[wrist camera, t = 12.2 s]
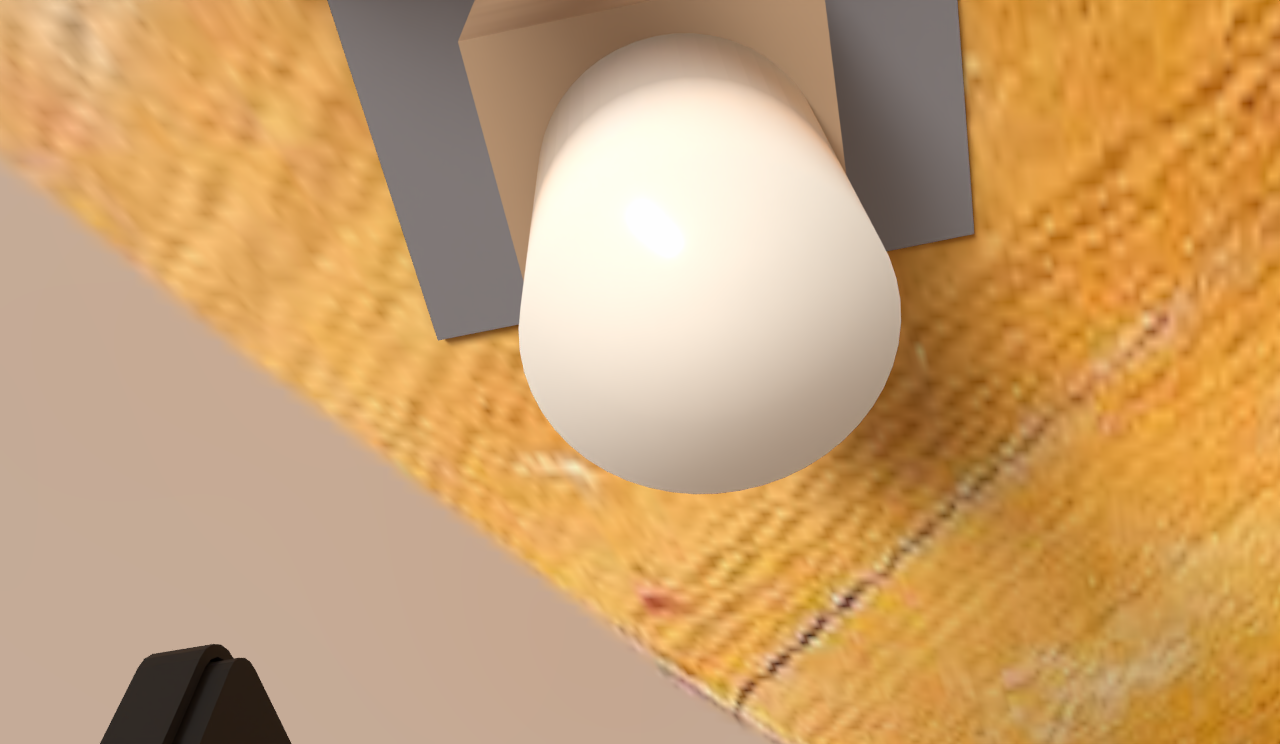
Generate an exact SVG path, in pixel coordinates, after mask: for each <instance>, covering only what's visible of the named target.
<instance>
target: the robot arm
mask: <svg viewBox="0 0 1280 744" xmlns="http://www.w3.org/2000/svg"><path fill="white" fill-rule="evenodd" d="M100 744H291V742H290V740H289V738H288V736H287V734H286V732H285V730H284V728H283V726H282V724H281V721H280V719H279V717H278V715H277V714H276V711H275V709H274V707H273V705H272V703H271V701H270V699H269V697H268V695H267V693H266V691H265V689H264V687H263V685H262V683H261V681H260V679H259V677H258V674H257V672H256V670H255V669H254V667H253V666H252V664H251V662H250V661H248V660H247V659H245V658H235V659H234V658H233V657H232V655H231V654H230V652H229V651H228V650H227V649H226V648H224V647H223V646H222V645H218V644H212V645H205V646H199V647H193V648H187V649H181V650H175V651H169V652H163V653H156V654H152V655H150V656H149V657H147V658H145V659H144V661H143V662H142V663H141V664H140V666H139V667H138V669H137V671H136V673H135V675H134V677H133V679H132V681H131V683H130V685H129V687H128V689H127V691H126V693H125V695H124V697H123V699H122V701H121V703H120V705H119V707H118V709H117V711H116V713H115V715H114V717H113V719H112V721H111V723H110V725H109V727H108V729H107V731H106V733H105V735H104V737H103V739H102V741H101V743H100Z"/></svg>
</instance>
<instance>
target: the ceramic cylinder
mask: <svg viewBox="0 0 1280 744" xmlns="http://www.w3.org/2000/svg"><path fill="white" fill-rule="evenodd" d="M900 327H901V304H900V295H899V290H898V284H897V279H896V276H895V273H894V270H893V267H892V264H891V261H890V258H889V256H888V254H887V252H886V250H885V248H884V246H883V244H882V242H881V240H880V238H879V236H878V234H877V233H876V231H875V229H874V227H873V225H872V223H871V221H870V219H869V217H868V216H867V214H866V212H865V210H864V208H863V206H862V204H861V202H860V200H859V198H858V197H857V195H856V193H855V191H854V189H853V187H852V185H851V183H850V181H849V179H848V178H847V176H846V174H845V172H844V170H843V168H842V166H841V164H840V162H839V160H838V159H837V157H836V155H835V153H834V151H833V149H832V147H831V145H830V143H829V142H828V140H827V138H826V136H825V134H824V132H823V130H822V128H821V126H820V124H819V123H818V121H817V119H816V117H815V115H814V113H813V111H812V109H811V107H810V105H809V104H808V102H807V100H806V98H805V97H804V95H803V94H802V92H801V91H800V90H799V88H798V87H797V85H796V84H795V83H794V82H793V81H792V80H791V79H790V78H789V77H788V75H787V74H786V73H785V72H784V71H783V70H782V69H780V68H779V67H778V66H777V65H775V64H774V63H773V62H772V61H770V60H769V59H768V58H766V57H765V56H763V55H761V54H760V53H758V52H756V51H754V50H753V49H751V48H749V47H746V46H744V45H741V44H739V43H737V42H734V41H731V40H728V39H724V38H720V37H716V36H711V35H703V34H695V33H684V34H668V35H661V36H654V37H651V38H647V39H643V40H640V41H636V42H634V43H631V44H629V45H627V46H624V47H622V48H620V49H617V50H615V51H614V52H612V53H610V54H609V55H607V56H605V57H604V58H602V59H600V60H599V61H598V62H596V63H595V64H594V65H593V66H591V67H590V68H589V69H588V70H586V71H585V72H584V73H583V74H582V75H581V76H580V77H579V78H578V79H577V80H576V81H575V82H574V83H573V84H572V85H571V87H570V88H569V89H568V91H567V92H566V93H565V95H564V96H563V97H562V99H561V100H560V101H559V103H558V105H557V107H556V109H555V111H554V112H553V114H552V116H551V118H550V121H549V123H548V126H547V128H546V131H545V134H544V137H543V141H542V146H541V150H540V155H539V163H538V171H537V179H536V187H535V195H534V203H533V211H532V219H531V227H530V235H529V243H528V251H527V259H526V267H525V276H524V284H523V292H522V300H521V308H520V319H519V344H520V354H521V359H522V363H523V368H524V373H525V376H526V378H527V381H528V384H529V387H530V389H531V392H532V394H533V396H534V398H535V400H536V402H537V404H538V405H539V407H540V409H541V411H542V413H543V414H544V415H545V417H546V418H547V420H548V421H549V422H550V424H551V425H552V426H553V428H554V429H555V430H556V431H557V432H558V433H559V434H560V435H561V437H562V438H563V439H564V440H565V441H566V442H567V443H568V444H569V445H570V446H571V447H573V448H574V449H575V450H576V451H578V452H579V453H580V454H581V455H583V456H584V457H585V458H586V459H588V460H589V461H591V462H592V463H594V464H596V465H597V466H599V467H601V468H602V469H604V470H606V471H607V472H610V473H612V474H614V475H616V476H618V477H621V478H623V479H625V480H627V481H630V482H633V483H636V484H639V485H643V486H646V487H649V488H654V489H659V490H664V491H669V492H677V493H688V494H718V493H726V492H733V491H741V490H745V489H749V488H753V487H758V486H762V485H765V484H768V483H770V482H773V481H776V480H779V479H782V478H785V477H787V476H789V475H791V474H793V473H795V472H797V471H799V470H801V469H803V468H805V467H807V466H808V465H810V464H812V463H813V462H815V461H816V460H818V459H820V458H821V457H823V456H824V455H826V454H827V453H828V452H830V451H831V450H832V449H833V448H834V447H836V446H837V445H838V444H839V443H841V442H842V441H843V440H844V439H845V438H846V437H847V436H848V435H849V434H850V433H851V432H852V431H853V430H854V429H855V428H856V427H857V426H858V425H859V424H860V422H861V421H862V420H863V419H864V417H865V416H866V415H867V413H868V412H869V411H870V409H871V408H872V407H873V405H874V404H875V402H876V400H877V398H878V397H879V395H880V393H881V391H882V390H883V388H884V386H885V384H886V381H887V379H888V377H889V374H890V372H891V369H892V367H893V364H894V360H895V356H896V352H897V348H898V345H899V336H900Z"/></svg>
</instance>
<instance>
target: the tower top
mask: <svg viewBox="0 0 1280 744" xmlns="http://www.w3.org/2000/svg"><path fill="white" fill-rule="evenodd" d="M684 33H695V34H703V35H711V36H716V37H720V38H724V39H728V40H731V41H734V42H737V43H739V44H741V45H744V46H746V47H749V48H751V49H753V50H754V51H756V52H758V53H760V54H761V55H763V56H765V57H766V58H768V59H769V60H770V61H772V62H773V63H774V64H775V65H777V66H778V67H779V68H780V69H782V70H783V71H784V72H785V73H786V74H787V75H788V77H789V78H790V79H791V80H792V81H793V82H794V83H795V84H796V85H797V87H798V88H799V90H800V91H801V92H802V94H803V95H804V97H805V98H806V100H807V102H808V104H809V105H810V107H811V109H812V111H813V113H814V115H815V117H816V119H817V121H818V123H819V124H820V126H821V128H822V130H823V132H824V134H825V136H826V138H827V140H828V142H829V143H830V145H831V147H832V149H833V151H834V153H835V155H836V157H837V159H838V160H839V162H840V164H841V166H842V168H843V170H844V172H845V174H846V168H845V160H844V152H843V144H842V136H841V127H840V119H839V111H838V103H837V95H836V86H835V78H834V70H833V62H832V54H831V45H830V37H829V29H828V21H827V13H826V4H825V0H475V1H474V3H473V6H472V8H471V10H470V13H469V15H468V18H467V20H466V23H465V25H464V28H463V30H462V33H461V35H460V38H459V40H458V44H459V47H460V51H461V55H462V58H463V62H464V66H465V69H466V73H467V77H468V80H469V84H470V88H471V91H472V95H473V98H474V102H475V106H476V109H477V113H478V117H479V120H480V124H481V128H482V131H483V135H484V139H485V142H486V146H487V150H488V153H489V157H490V161H491V164H492V168H493V172H494V175H495V179H496V183H497V186H498V190H499V193H500V197H501V201H502V204H503V208H504V212H505V215H506V219H507V223H508V226H509V230H510V234H511V237H512V241H513V245H514V248H515V252H516V256H517V259H518V263H519V267H520V270H521V274H522V278H523V281H524V276H525V267H526V259H527V251H528V243H529V235H530V227H531V219H532V211H533V203H534V195H535V187H536V179H537V171H538V163H539V155H540V150H541V146H542V141H543V137H544V134H545V131H546V128H547V126H548V123H549V121H550V118H551V116H552V114H553V112H554V111H555V109H556V107H557V105H558V103H559V101H560V100H561V99H562V97H563V96H564V95H565V93H566V92H567V91H568V89H569V88H570V87H571V85H572V84H573V83H574V82H575V81H576V80H577V79H578V78H579V77H580V76H581V75H582V74H583V73H584V72H585V71H586V70H588V69H589V68H590V67H591V66H593V65H594V64H595V63H596V62H598V61H599V60H600V59H602V58H604V57H605V56H607V55H609V54H610V53H612V52H614V51H615V50H617V49H620V48H622V47H624V46H627V45H629V44H631V43H634V42H636V41H640V40H643V39H647V38H651V37H654V36H661V35H668V34H684Z"/></svg>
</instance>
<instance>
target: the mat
mask: <svg viewBox="0 0 1280 744" xmlns="http://www.w3.org/2000/svg"><path fill="white" fill-rule="evenodd" d="M327 1H328V4H329V7H330V10H331V13H332V16H333V19H334V22H335V25H336V28H337V31H338V34H339V37H340V40H341V44H342V47H343V50H344V53H345V56H346V59H347V62H348V65H349V68H350V71H351V74H352V77H353V80H354V84H355V87H356V90H357V93H358V96H359V99H360V102H361V105H362V108H363V111H364V114H365V117H366V120H367V123H368V127H369V130H370V133H371V136H372V139H373V142H374V145H375V148H376V151H377V154H378V157H379V160H380V163H381V167H382V170H383V173H384V176H385V179H386V182H387V185H388V188H389V191H390V194H391V197H392V200H393V203H394V206H395V210H396V213H397V216H398V219H399V222H400V225H401V228H402V231H403V234H404V237H405V240H406V243H407V246H408V250H409V253H410V256H411V259H412V262H413V265H414V268H415V271H416V274H417V277H418V280H419V283H420V286H421V289H422V293H423V296H424V299H425V302H426V305H427V308H428V311H429V314H430V317H431V320H432V323H433V326H434V329H435V333H436V336H437V339H438V340H443V339H448V338H453V337H458V336H463V335H468V334H473V333H478V332H483V331H488V330H493V329H498V328H503V327H508V326H513V325H518V324H519V319H520V308H521V300H522V292H523V284H524V281H523V278H522V274H521V270H520V267H519V263H518V259H517V256H516V252H515V248H514V245H513V241H512V237H511V234H510V230H509V226H508V223H507V219H506V215H505V212H504V208H503V204H502V201H501V197H500V193H499V190H498V186H497V183H496V179H495V175H494V172H493V168H492V164H491V161H490V157H489V153H488V150H487V146H486V142H485V139H484V135H483V131H482V128H481V124H480V120H479V117H478V113H477V109H476V106H475V102H474V98H473V95H472V91H471V88H470V84H469V80H468V77H467V73H466V69H465V66H464V62H463V58H462V55H461V51H460V47H459V44H458V40H459V38H460V35H461V33H462V30H463V28H464V25H465V23H466V20H467V18H468V15H469V13H470V10H471V8H472V6H473V3H474V1H475V0H327ZM825 4H826V13H827V21H828V29H829V37H830V45H831V54H832V62H833V70H834V78H835V86H836V95H837V103H838V111H839V119H840V127H841V136H842V144H843V152H844V160H845V168H846V176H847V178H848V179H849V181H850V183H851V185H852V187H853V189H854V191H855V193H856V195H857V197H858V198H859V200H860V202H861V204H862V206H863V208H864V210H865V212H866V214H867V216H868V217H869V219H870V221H871V223H872V225H873V227H874V229H875V231H876V233H877V234H878V236H879V238H880V240H881V242H882V244H883V246H884V248H885V250H886V251H891V250H896V249H901V248H906V247H911V246H916V245H921V244H926V243H931V242H936V241H941V240H946V239H951V238H956V237H961V236H966V235H972V234H974V223H973V209H972V195H971V181H970V168H969V154H968V140H967V126H966V112H965V99H964V85H963V71H962V57H961V44H960V30H959V16H958V2H957V0H825Z"/></svg>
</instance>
